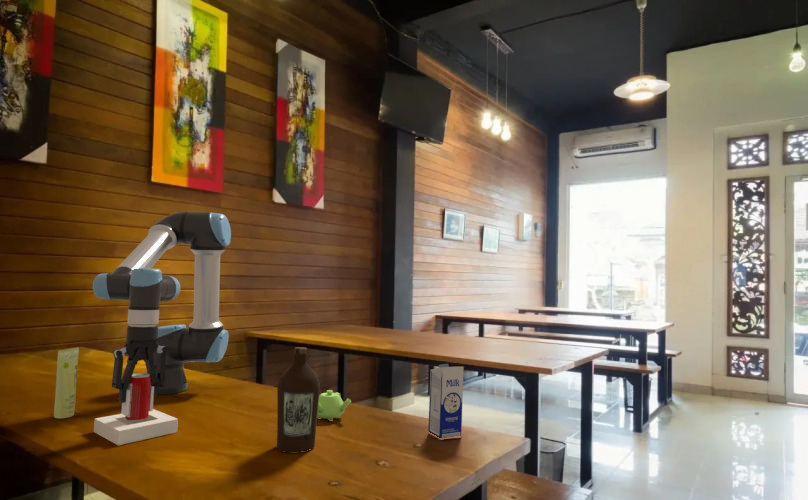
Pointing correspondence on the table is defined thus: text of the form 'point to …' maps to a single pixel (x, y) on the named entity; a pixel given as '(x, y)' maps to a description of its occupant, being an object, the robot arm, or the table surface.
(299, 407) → the olive oil
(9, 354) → the table surface
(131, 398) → the soda can
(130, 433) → the socket block
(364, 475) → the table surface
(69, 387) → the tube
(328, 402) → the teapot
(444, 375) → the milk carton
